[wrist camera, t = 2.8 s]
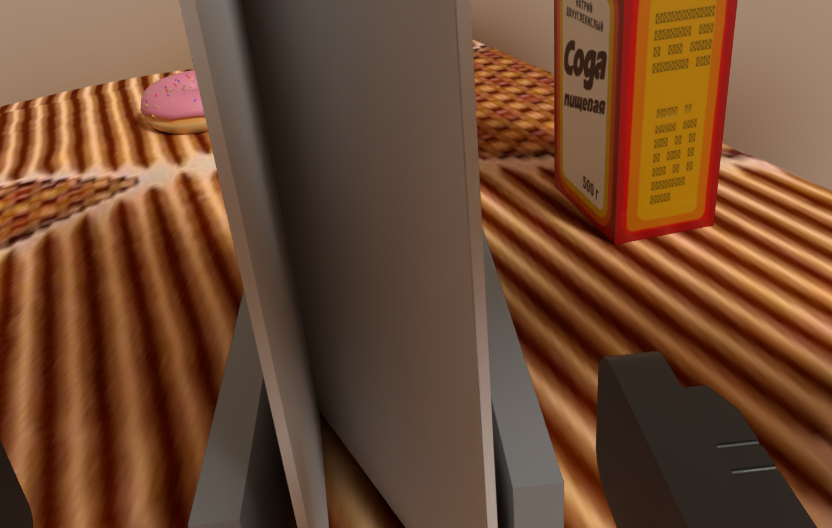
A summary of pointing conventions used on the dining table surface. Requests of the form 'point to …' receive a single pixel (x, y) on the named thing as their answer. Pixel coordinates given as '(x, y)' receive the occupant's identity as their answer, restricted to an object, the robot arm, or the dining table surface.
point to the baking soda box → (641, 111)
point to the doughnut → (175, 105)
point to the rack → (262, 462)
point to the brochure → (359, 238)
